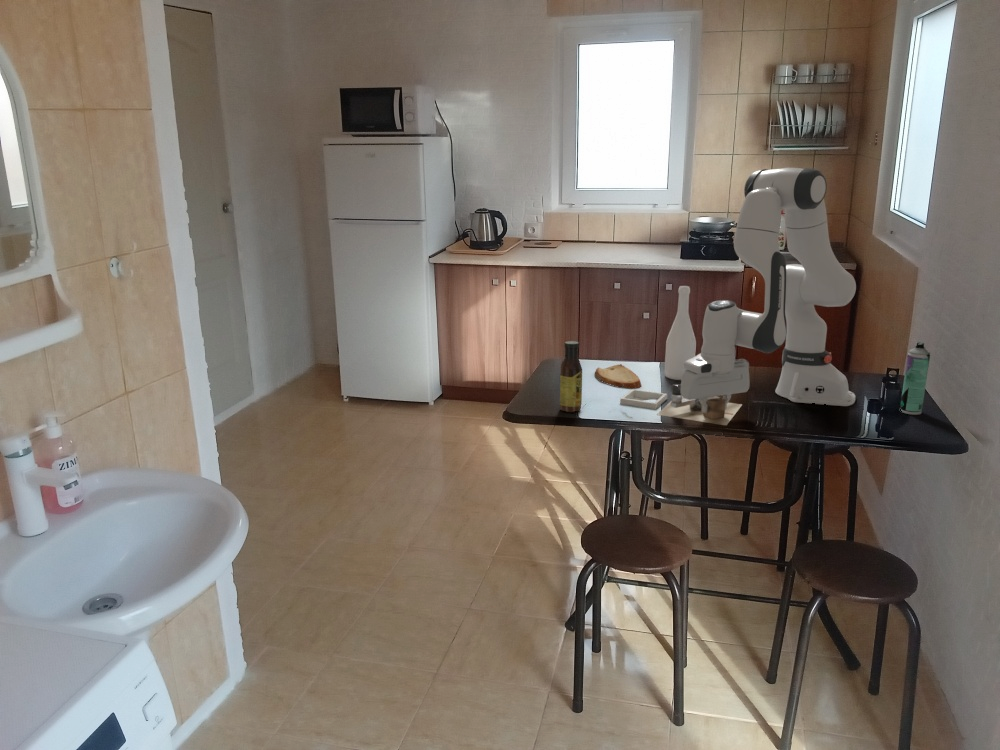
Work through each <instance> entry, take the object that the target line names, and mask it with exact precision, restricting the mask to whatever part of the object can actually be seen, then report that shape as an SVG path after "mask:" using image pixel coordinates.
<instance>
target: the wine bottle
mask: <svg viewBox="0 0 1000 750" xmlns="http://www.w3.org/2000/svg"><path fill="white" fill-rule="evenodd" d="M677 291H678V301H677V302H678V303H677V311H676V315H675V318H674V320H673V323H672V325H671V328H670V330H669V332H668V335H667V338H666V342H665V357H664V371H663V372H664V376H665V377H666V378H667V379H671V380H674V381H681V380H682V375H683V373H684V371H686V370H687V369H685V368H684V362H685V361H687V360H689V359H691V358H693V357H695V356H696V351H697V350H696V347H697V341H696V340H697V339H696V336H695V333H694V329H693V324H692V321H691V319H690V318H691V317H690V313H689V311H690V310H689V309H690V308H689V306H690V305H689V304H690V295H691V288H690V286H688V285H680V286H679V288H678V289H677Z"/></svg>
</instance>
